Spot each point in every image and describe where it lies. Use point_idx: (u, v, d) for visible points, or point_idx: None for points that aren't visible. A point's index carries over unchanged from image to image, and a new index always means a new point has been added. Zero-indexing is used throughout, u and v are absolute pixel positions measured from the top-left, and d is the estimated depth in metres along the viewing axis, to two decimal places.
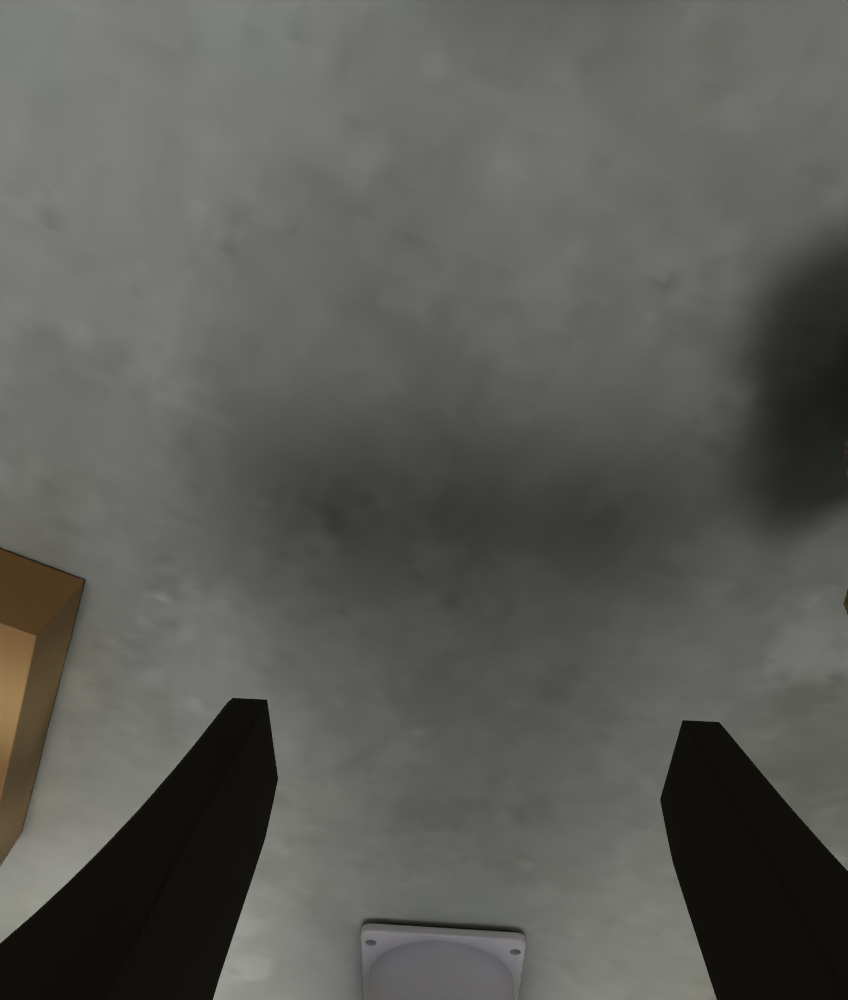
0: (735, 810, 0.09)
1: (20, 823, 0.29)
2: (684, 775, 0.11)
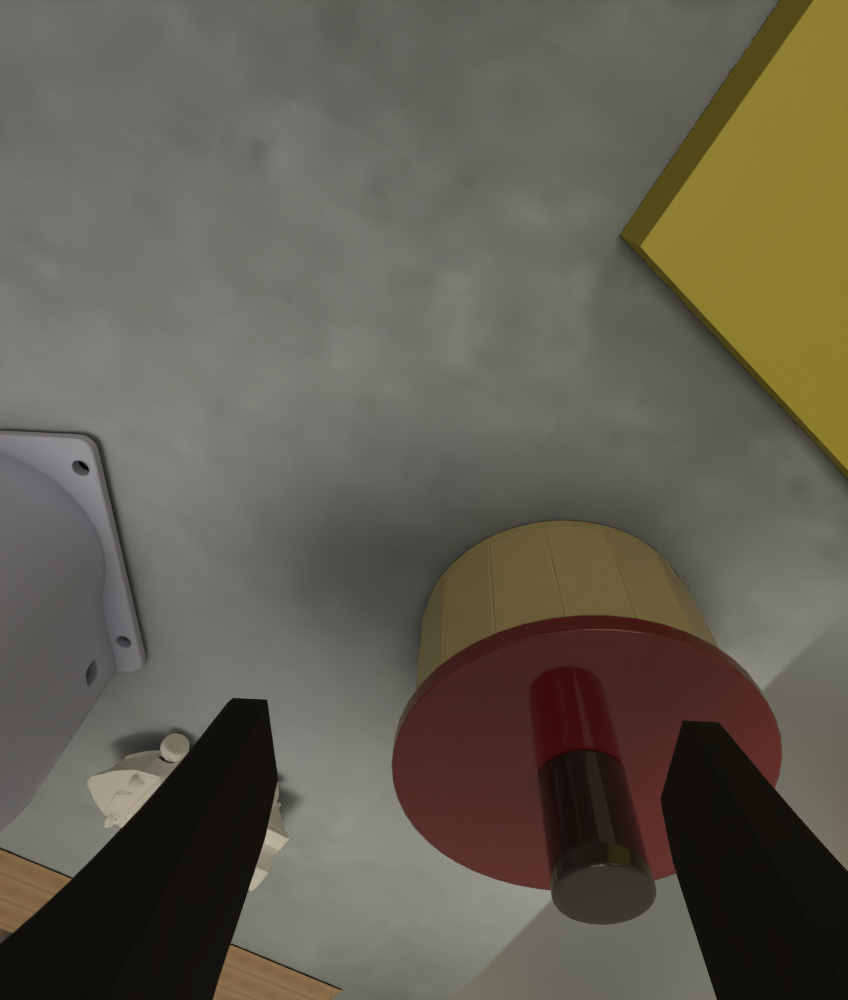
0: (735, 810, 0.09)
1: None
2: (684, 775, 0.11)
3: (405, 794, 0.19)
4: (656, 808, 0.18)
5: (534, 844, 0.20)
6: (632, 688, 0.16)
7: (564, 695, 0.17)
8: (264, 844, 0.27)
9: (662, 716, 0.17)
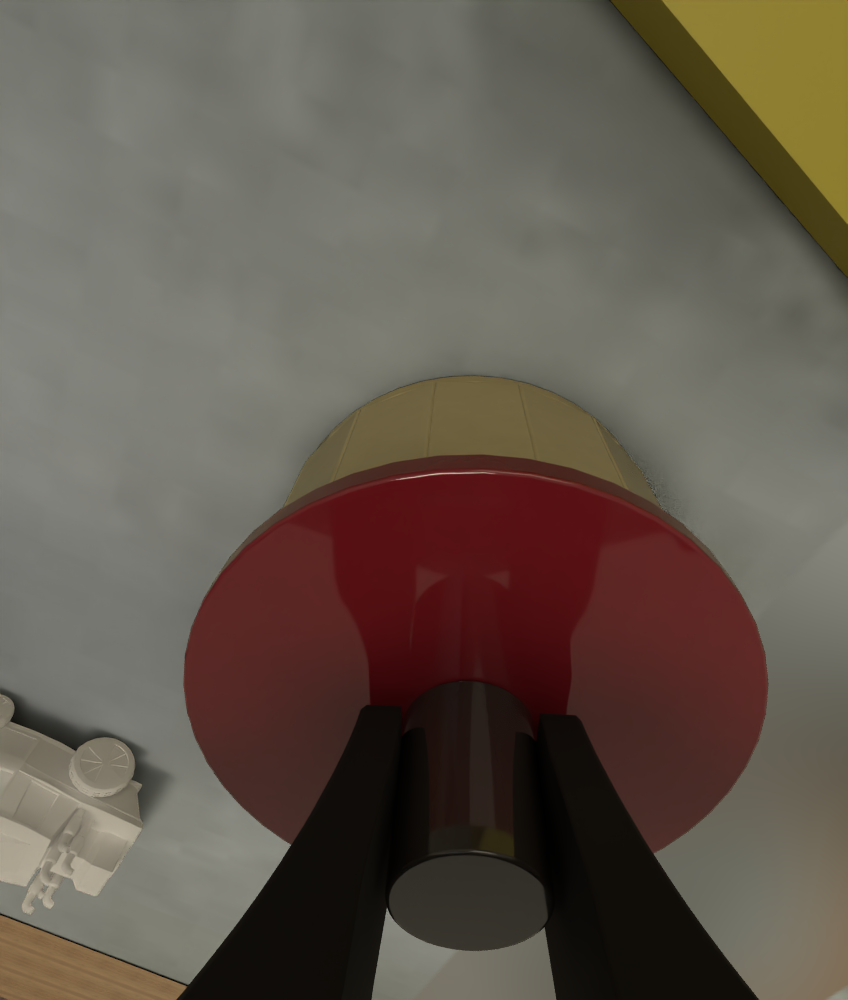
0: (564, 800, 0.09)
1: None
2: (539, 767, 0.11)
3: (215, 755, 0.13)
4: None
5: None
6: (526, 575, 0.10)
7: (422, 589, 0.11)
8: (112, 836, 0.21)
9: (578, 622, 0.11)
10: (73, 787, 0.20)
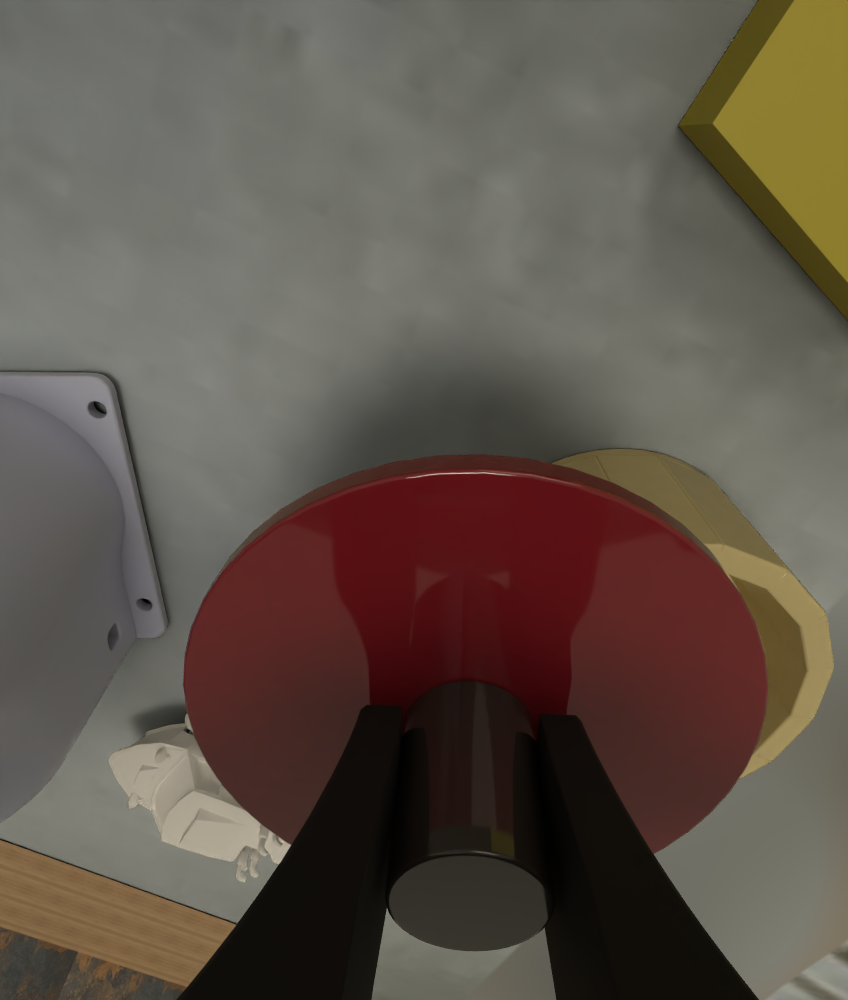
0: (564, 800, 0.09)
1: None
2: (539, 767, 0.11)
3: (215, 755, 0.13)
4: None
5: None
6: (526, 575, 0.10)
7: (422, 589, 0.11)
8: None
9: (578, 622, 0.11)
10: None
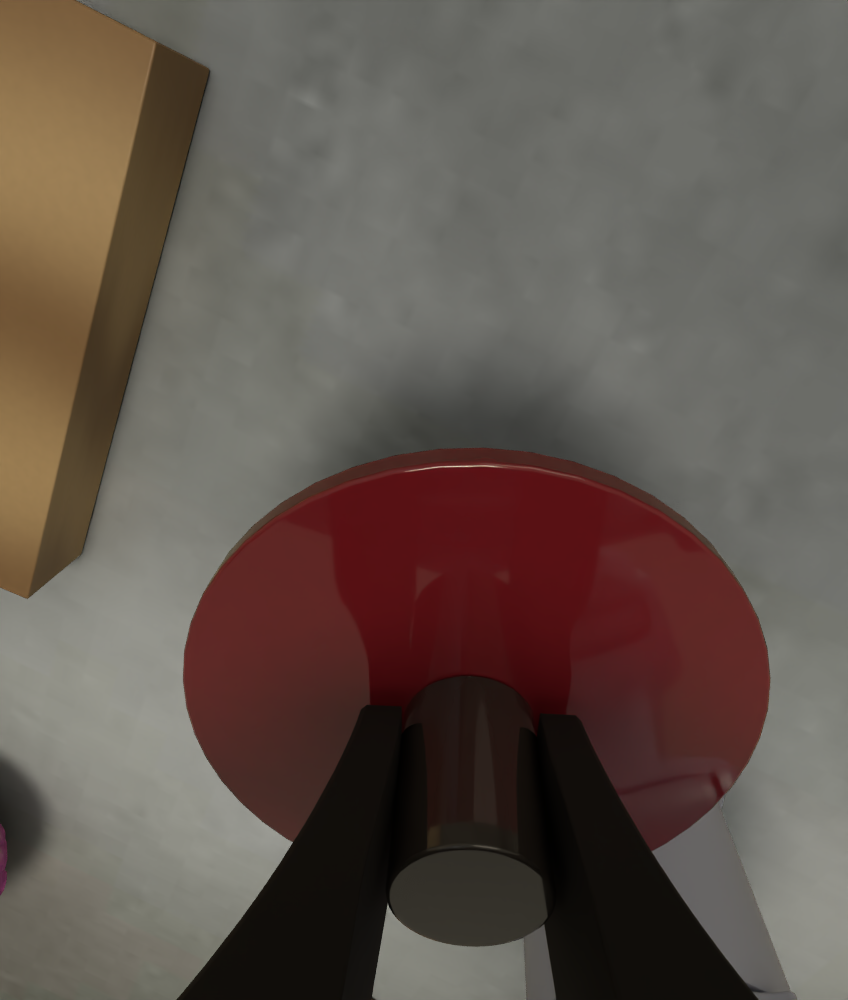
0: (564, 801, 0.09)
1: (83, 525, 0.22)
2: None
3: (215, 751, 0.13)
4: None
5: None
6: (527, 569, 0.10)
7: (422, 584, 0.11)
8: None
9: (579, 617, 0.11)
10: None
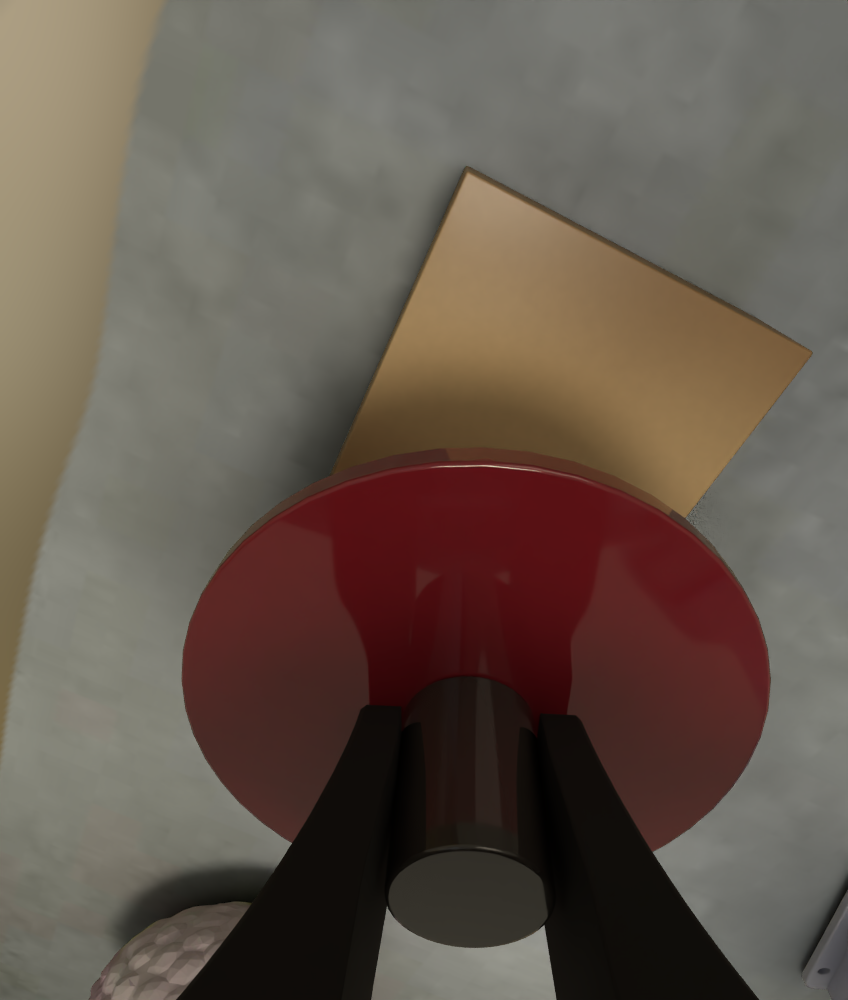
0: (565, 800, 0.09)
1: None
2: None
3: (213, 751, 0.13)
4: None
5: None
6: (527, 569, 0.10)
7: (421, 584, 0.10)
8: None
9: (579, 617, 0.11)
10: None
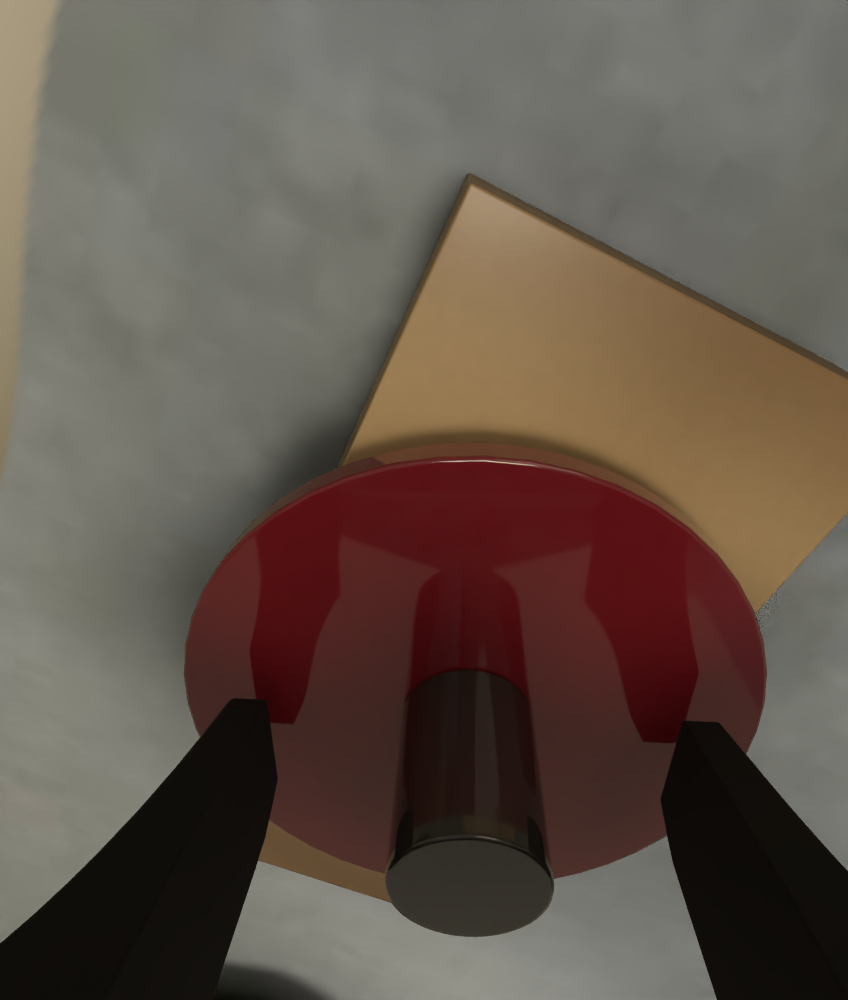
0: (735, 810, 0.09)
1: None
2: (684, 775, 0.11)
3: None
4: (583, 761, 0.12)
5: None
6: (525, 563, 0.10)
7: (421, 578, 0.11)
8: None
9: (577, 611, 0.11)
10: None
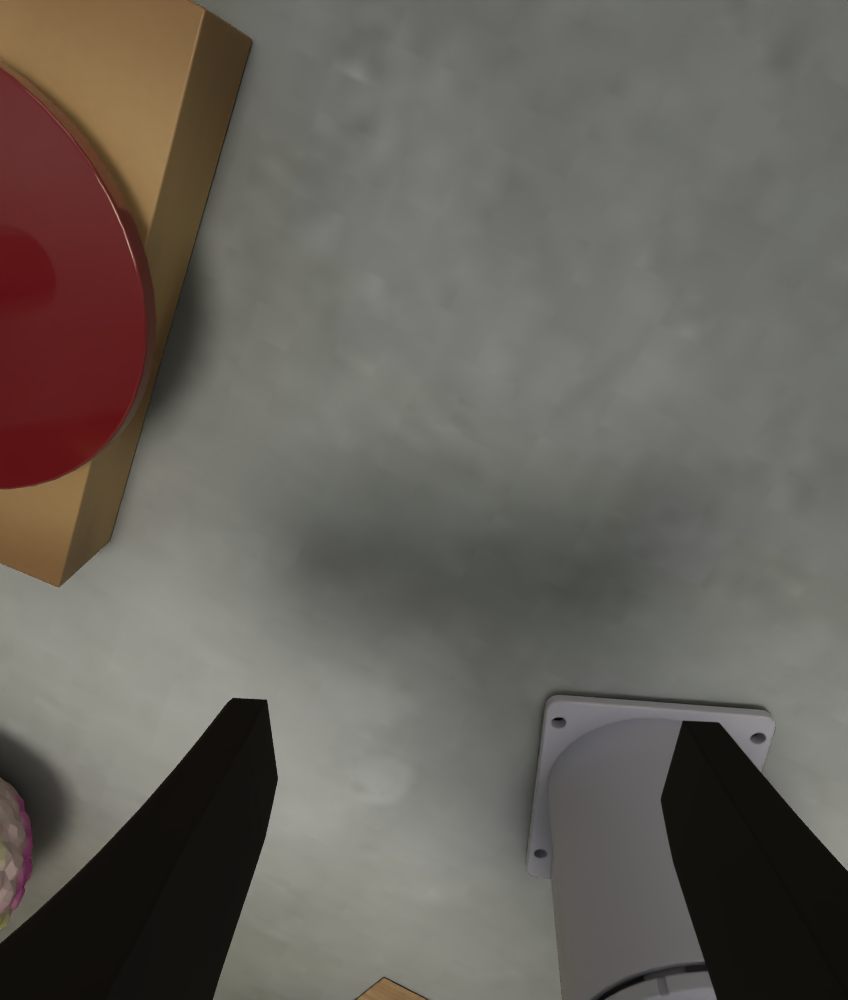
0: (735, 810, 0.09)
1: (113, 512, 0.22)
2: (684, 775, 0.11)
3: None
4: (28, 333, 0.16)
5: None
6: None
7: None
8: None
9: None
10: None
